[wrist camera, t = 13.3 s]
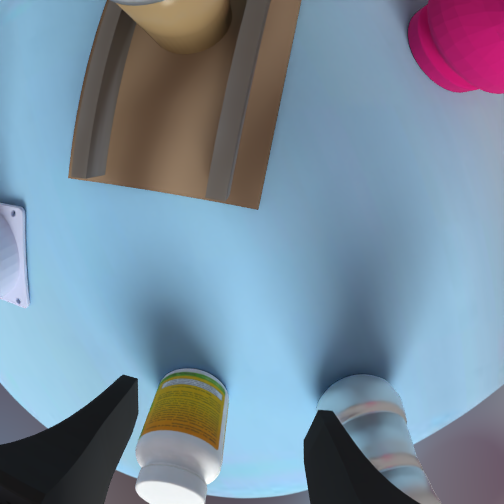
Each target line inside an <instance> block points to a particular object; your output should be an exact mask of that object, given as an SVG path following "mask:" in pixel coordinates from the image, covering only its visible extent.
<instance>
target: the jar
mask: <svg viewBox="0 0 504 504" xmlns="http://www.w3.org/2000/svg"><path fill="white" fill-rule="evenodd" d="M111 1H113V2H115V3H116V4H117V5H118V6H119V7H120V8H122V9H123V10H124V11H125V12H126V13H127V14H128V15H129V16H130V17H131V18H132V19H133V20H134V21H135V22H136V23H137V24H138V25H139V26H140V27H141V28H142V29H143V30H144V31H145V32H146V33H147V34H148V35H149V36H150V37H151V38H152V39H153V40H154V41H155V42H156V43H157V44H158V45H159V46H160V47H162V48H163V49H165V50H167V51H169V52H172V53H176V54H193V53H198V52H201V51H204V50H206V49H208V48H210V47H212V46H213V45H215V44H216V43H218V42H219V41H220V40H221V39H222V38H223V37H224V35H225V34H226V33H227V31H228V29H229V27H230V25H231V21H232V10H231V5H230V0H111Z"/></svg>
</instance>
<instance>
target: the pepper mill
mask: <svg viewBox="0 0 504 504" xmlns="http://www.w3.org/2000/svg"><path fill="white" fill-rule="evenodd" d="M408 39H409V45H410V48H411V51H412V53H413V56H414V58H415V60H416V61H417V63H418V65H419V66H420V68H421V69H422V70H423V71H424V73H425V74H426V75H427V76H428V77H429V78H430V79H431V80H432V81H434V82H435V83H436V84H438V85H439V86H441V87H443V88H445V89H447V90H449V91H453V92H459V93H461V92H467V91H472V90H477V89H481V90H483V91H486V92H489V93H496V94H501V93H504V0H429V1H428V4H427V5H426V6H425V7H423V8H422V9H421V10H419V11H418V12H417V13H416V14H415V15H414V16H413V17H412V19H411V21H410V23H409V27H408Z"/></svg>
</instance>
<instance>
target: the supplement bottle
mask: <svg viewBox="0 0 504 504" xmlns="http://www.w3.org/2000/svg"><path fill="white" fill-rule="evenodd" d="M228 405H229V397H228V392H227V390H226V388H225V386H224V385H223V384H222V383H221V382H220V381H219V380H218V379H217V378H216V377H214V376H213V375H211V374H209V373H207V372H205V371H202V370H198V369H192V368H184V369H178V370H174V371H172V372H170V373H168V374H167V375H165V376H164V378H163V379H162V380H161V382H160V384H159V387H158V389H157V392H156V395H155V397H154V400H153V403H152V405H151V408H150V411H149V413H148V416H147V419H146V421H145V424H144V427H143V429H142V432H141V435H140V437H139V440H138V443H137V446H136V458H137V461H138V463H139V465H140V466H141V467H142V468H141V470H140V472H139V475H138V479H137V482H136V486H135V487H136V491H137V493H138V495H140V497H142V498H143V499H144V500H145V501H147V502H149V503H151V504H204V503H205V498H206V494H207V484H209V483H211V482H212V481H214V480H215V479H216V478H217V476H218V475H219V473H220V470H221V465H222V458H223V449H224V440H225V431H226V423H227V414H228Z"/></svg>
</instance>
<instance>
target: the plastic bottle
mask: <svg viewBox="0 0 504 504" xmlns="http://www.w3.org/2000/svg"><path fill="white" fill-rule="evenodd" d="M318 410H331V411H333V412H334V413H335V415H336V416H337V418H338V419H339V421H340V422H341V424H342V425H343V427H344V428H345V430H346V431H347V432H348V434H349V435H350V437H351V438H352V439H353V441H354V442H355V444H356V445H357V446H358V448H359V449H360V450H361V451H362V453H363V454H364V455H365V456H366V458H367V459H368V460H369V461H370V462H371V463H372V464H373V466H374V467H375V468H376V469H377V470H378V471H379V472H380V473H381V474H382V475H383V476H384V477H386V478H387V479H388V480H389V481H390V482H391V483H392V484H393V485H395V486H396V487H397V488H398V489H400V490H401V491H402V492H404V493H405V494H406V495H408V496H409V497H411V498H412V499H414V500H415V501H417V502H419V503H420V504H442V503H441V502H440V500H439V499H438V497H437V495H436V494H435V492H434V491H433V489H432V487H431V484H430V482H429V480H428V478H427V476H426V474H425V473H424V472H423V469H422V466H421V464H420V462H419V460H418V458H417V456H416V452H415V449H414V446H413V443H412V440H411V437H410V433H409V430H408V427H407V420H406V414H405V411H404V407H403V404H402V400H401V397H400V396H399V394H398V393H397V392H396V390H395V389H394V388H393V387H392V386H391V384H390V383H389V382H387V381H386V380H385V379H383V378H380V377H377V376H373V375H368V374H357V375H352V376H348V377H345V378H343V379H340V380H339V381H337V382H335V383H334V384H333V385H331V386H330V387H329V388H328V389H327V390H326V391H325V393H324V394H323V395H322V396H321V398H320V400H319V401H318V404H317V407H316V414H317V412H318Z"/></svg>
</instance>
